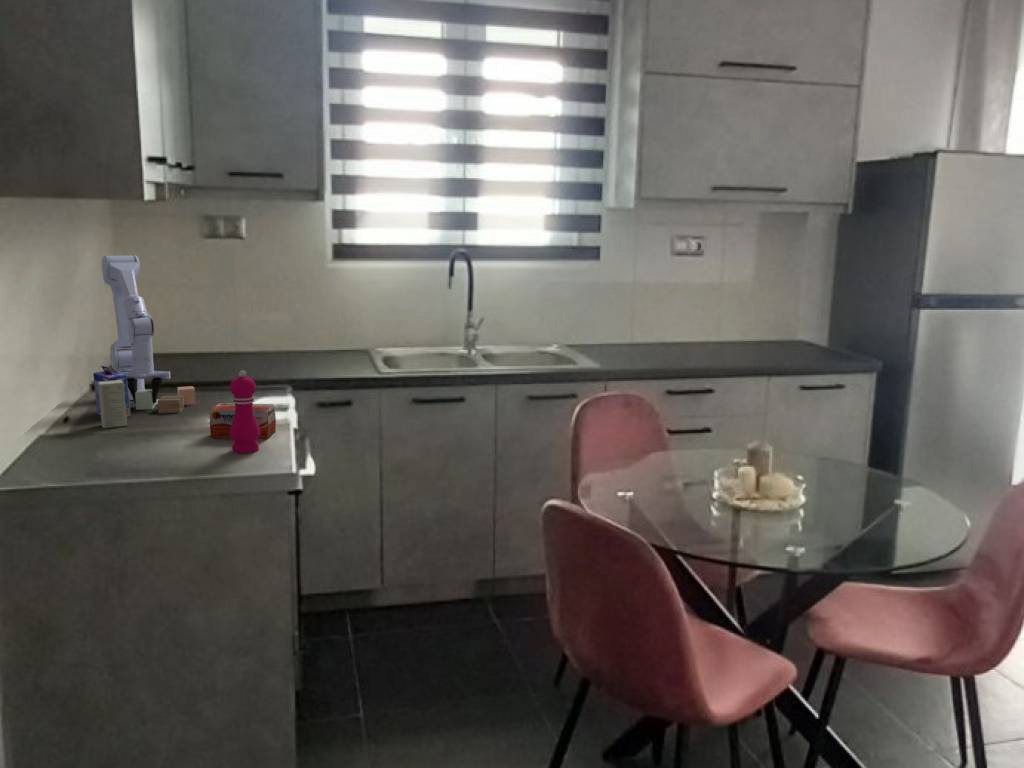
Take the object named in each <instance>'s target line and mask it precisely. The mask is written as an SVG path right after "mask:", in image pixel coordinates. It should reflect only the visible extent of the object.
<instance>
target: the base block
mask: <svg viewBox="0 0 1024 768" xmlns="http://www.w3.org/2000/svg"><path fill="white" fill-rule="evenodd" d="M157 399H158V405H157V411H158V412H157V413H158V414H177V413H178V412H180V413H181V412H182V411H183V410H184V409H185V406H184V396H178V395H162V396H161V397H160V398H157ZM178 414H179V413H178Z"/></svg>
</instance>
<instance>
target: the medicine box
mask: <svg viewBox="0 0 1024 768" xmlns="http://www.w3.org/2000/svg"><path fill="white" fill-rule="evenodd" d="M275 407H276V406H275V404H274V403H253V405H252V408H253V414H254V417H255V419H256V421H257V423H258V425H259V428H260V436H259V438H258V439H257V440H269V439H270V438H271V436H272V435H273V434H274V433H276V426H277V416H276V408H275ZM234 415H235V403H218V404H216V405H214V406H213V407H212V408H210V409H209V429H210V430H209V431H210V436H211V439H212V438H215V439H217V438H218V439H219V438H226V439H227V440H228V439H229V440H230V439H231V438H230V427H231V424H232V422H233V419H234ZM231 440H232V439H231Z"/></svg>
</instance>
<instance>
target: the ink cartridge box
mask: <svg viewBox="0 0 1024 768" xmlns="http://www.w3.org/2000/svg"><path fill="white" fill-rule="evenodd" d="M101 368H102V369H103V371H97V372H96V371H95V372H92V375H93V383H94V392H95V393H94V395H95V396H94V397H95V403H96V413H97V415H99V416H101V410H100V399H99V389H98V382H102V381H113V380H122V381H123V382H124V393H125V405H126V416H127V418H128V417H131V407H130V400H129V394H128V385H127V375H125V374H121V373H117V371H115V370H111V369H110V368H109V367H108V366H105V365H101Z"/></svg>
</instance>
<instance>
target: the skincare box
mask: <svg viewBox="0 0 1024 768" xmlns="http://www.w3.org/2000/svg"><path fill="white" fill-rule="evenodd" d="M98 389H99V399H100V410H101V415H100V421H101V426H102V428H103V429H106V428H107V429H108V428H116V427H124V426H126V427H127V426H128V417H127V416H126V405H125V393H124V382H123V381H122V380H113V381H102V382H98Z"/></svg>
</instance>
